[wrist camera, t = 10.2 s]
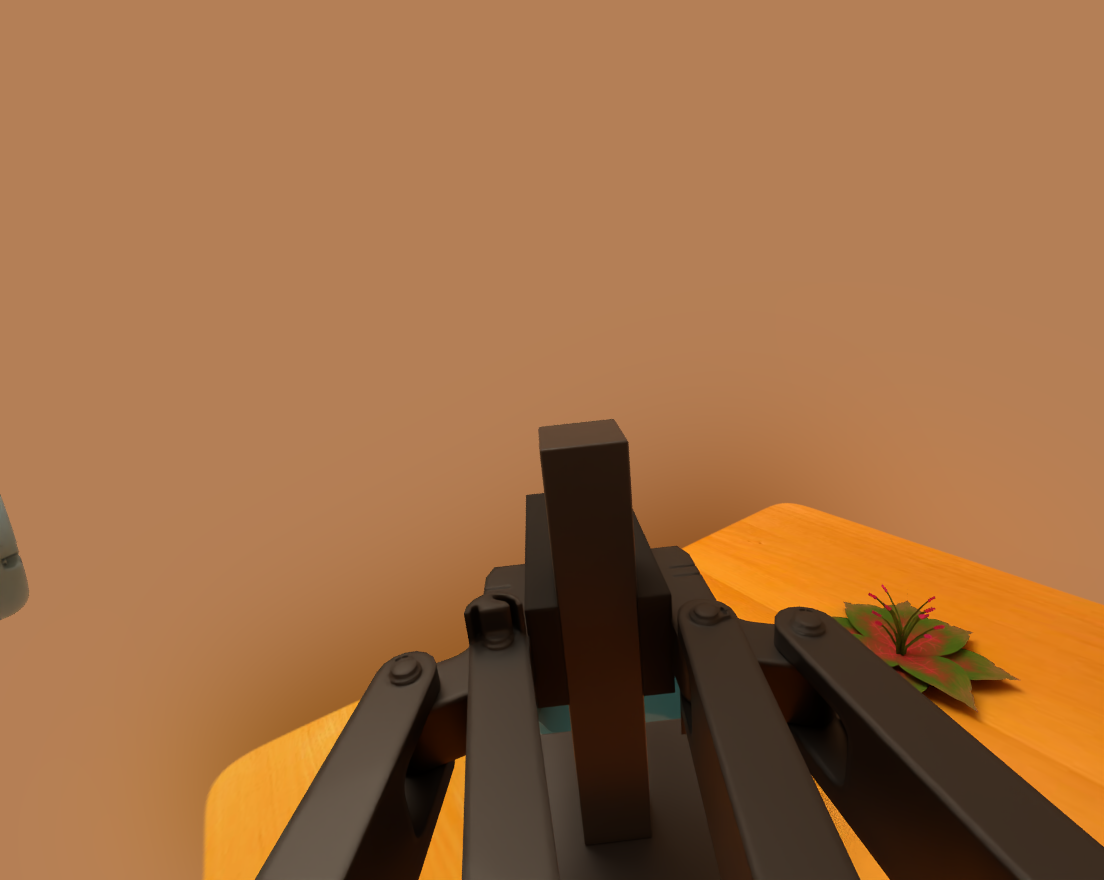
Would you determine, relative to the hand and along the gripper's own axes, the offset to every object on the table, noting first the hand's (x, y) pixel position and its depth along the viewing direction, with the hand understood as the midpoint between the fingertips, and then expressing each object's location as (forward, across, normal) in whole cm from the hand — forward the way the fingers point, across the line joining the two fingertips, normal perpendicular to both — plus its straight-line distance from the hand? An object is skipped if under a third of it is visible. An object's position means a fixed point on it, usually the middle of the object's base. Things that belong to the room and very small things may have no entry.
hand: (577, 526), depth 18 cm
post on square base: (-6, 0, -9) cm, 11 cm away
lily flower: (+13, +23, -20) cm, 33 cm away
